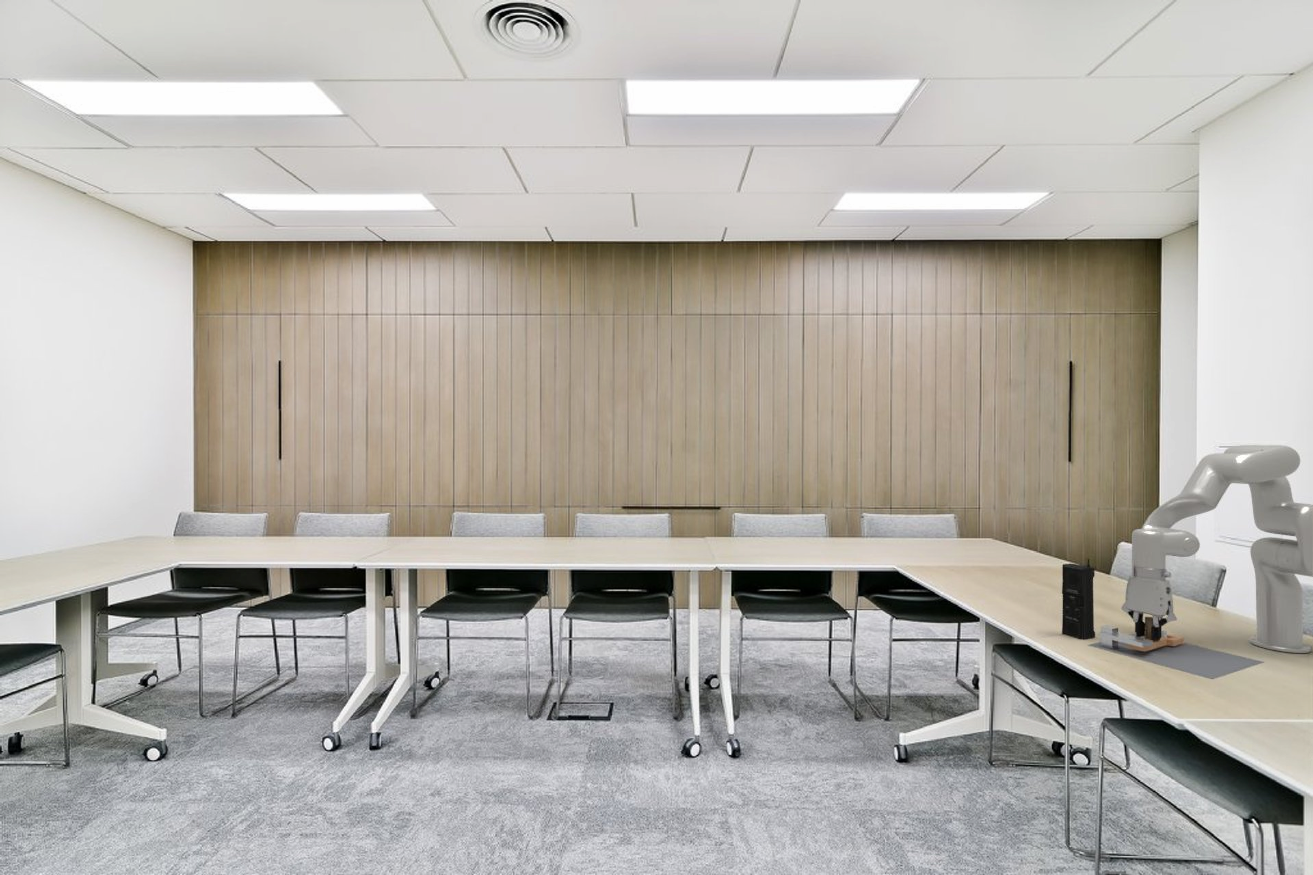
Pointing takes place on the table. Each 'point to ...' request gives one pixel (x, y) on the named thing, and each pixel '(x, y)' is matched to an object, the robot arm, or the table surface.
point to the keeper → (1120, 638)
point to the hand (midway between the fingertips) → (1148, 637)
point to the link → (1159, 643)
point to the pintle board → (1187, 658)
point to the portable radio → (1078, 601)
